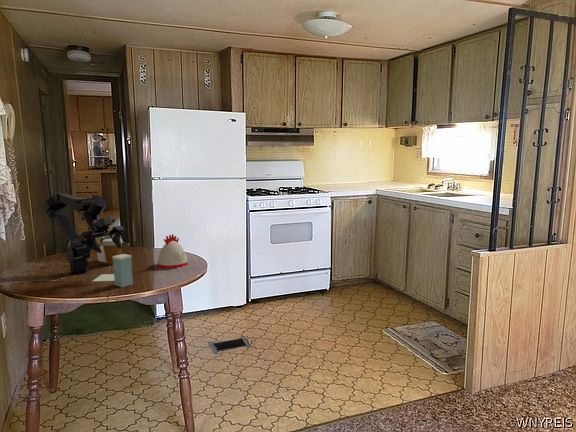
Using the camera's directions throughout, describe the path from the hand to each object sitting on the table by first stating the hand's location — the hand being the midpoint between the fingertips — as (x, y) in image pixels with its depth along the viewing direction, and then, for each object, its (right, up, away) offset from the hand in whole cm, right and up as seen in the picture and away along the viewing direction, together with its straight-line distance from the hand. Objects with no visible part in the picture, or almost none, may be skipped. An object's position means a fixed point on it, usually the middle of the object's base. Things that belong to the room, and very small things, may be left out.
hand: (111, 250), depth 176 cm
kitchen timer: (+19, -9, +27) cm, 34 cm away
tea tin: (+7, -14, -3) cm, 15 cm away
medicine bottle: (-17, -8, +37) cm, 41 cm away
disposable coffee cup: (-12, -9, +31) cm, 34 cm away
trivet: (-4, -12, +7) cm, 14 cm away
